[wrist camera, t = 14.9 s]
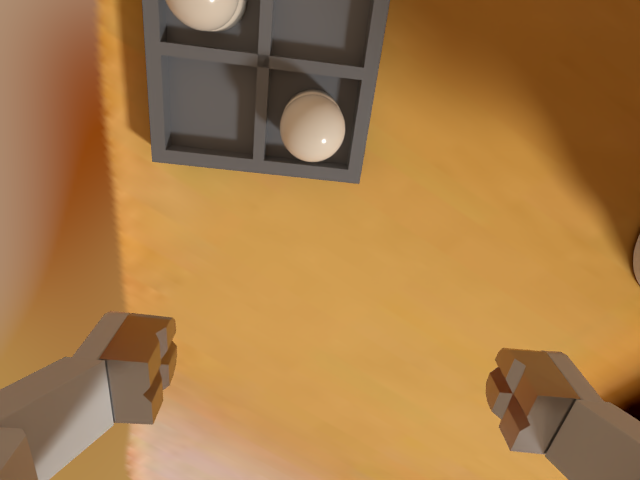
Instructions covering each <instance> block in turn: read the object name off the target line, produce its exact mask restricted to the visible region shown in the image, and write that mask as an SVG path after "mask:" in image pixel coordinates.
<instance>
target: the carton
mask: <svg viewBox="0 0 640 480" xmlns="http://www.w3.org/2000/svg"><path fill="white" fill-rule="evenodd" d="M389 3H390V0H248V2H247V8H246V11H245V14H244V16H243V17H242V19H241V20H240V22H239V23H238V24H237V25H235V26H234V27H233V28H231V29H229V30H226V31H221V32H214V31H200V30H196V29H193V28H191V27H189V26H187V25H185V24H184V23H182V22H181V21H180V20H179V19H177V17H176V16H175V15H174V14H173V13H172V11H171V10H170V9H169V7H168V5H167V3H166V1H165V0H142V8H143V24H144V40H145V55H146V71H147V87H148V103H149V118H150V134H151V150H152V162H160V163H169V164H178V165H188V166H197V167H207V168H216V169H225V170H235V171H244V172H254V173H263V174H272V175H282V176H291V177H301V178H310V179H319V180H329V181H338V182H348V183H357V184H359V182H360V176H361V170H362V164H363V158H364V152H365V146H366V140H367V134H368V128H369V122H370V116H371V110H372V104H373V98H374V92H375V87H376V81H377V75H378V69H379V63H380V57H381V51H382V45H383V39H384V33H385V27H386V21H387V15H388V9H389ZM306 89H319V90H322V91H324V92H326V93H328V94H329V95H331V96H332V97H333V98H334V100H335V101H336V102H337V104H338V106H339V108H340V110H341V112H342V114H343V117H344V121H345V136H344V139H343V142H342V144H341V146H340V147H339V149H338V150H337V151H336V152H335V153H334V154H333V155H332V156H331V157H329V158H327V159H325V160H323V161H319V162H307V161H303V160H300V159H298V158H296V157H295V156H293V155H292V154H291V153H290V152H289V151H288V150H287V148H286V147H285V145H284V144H283V141H282V139H281V135H280V121H281V117H282V114H283V112H284V109H285V106H286V104H287V103H288V101H289V100H290V99H291V97H292V96H294V95H295V94H296V93H298V92H300V91H302V90H306Z"/></svg>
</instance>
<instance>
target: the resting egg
mask: <svg viewBox="0 0 640 480" xmlns="http://www.w3.org/2000/svg"><path fill="white" fill-rule="evenodd" d="M165 1H166V3H167V5H168V7H169V9H170V10H171V11H172V13H173V14H174V15H175V16H176V17H177V19H179V20H180V21H181V22H182V23H184V24H185V25H187V26H189V27H191V28H193V29H196V30H200V31H214V32H221V31H226V30H229V29H231V28H233V27H234V26H235V25H237V24H238V23H239V22H240V20H241V19H242V17H243V16H244V14H245V11H246V8H247V2H248V0H165Z"/></svg>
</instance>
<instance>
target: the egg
mask: <svg viewBox="0 0 640 480" xmlns="http://www.w3.org/2000/svg"><path fill="white" fill-rule="evenodd" d="M280 135H281V139H282V141H283V144H284V145H285V147H286V148H287V150H288V151H289V152H290V153H291V154H292V155H293V156H295V157H296V158H298V159H300V160H303V161H307V162H319V161H323V160H325V159H327V158H329V157H331V156H332V155H333V154H334V153H335V152H336V151H337V150H338V149H339V147H340V146H341V144H342V142H343V139H344V136H345V121H344V117H343V114H342V112H341V110H340V108H339V106H338V104H337V102H336V101H335V100H334V98H333V97H332V96H331V95H329V94H328V93H326V92H324V91H322V90H319V89H306V90H302V91H300V92H298V93H296V94H295V95H294V96H292V97H291V99H290V100H289V101H288V103H287V104H286V106H285V109H284V112H283V114H282V117H281V121H280Z"/></svg>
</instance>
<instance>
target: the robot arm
mask: <svg viewBox="0 0 640 480" xmlns="http://www.w3.org/2000/svg"><path fill="white" fill-rule="evenodd" d="M633 268H634V273H635V276H636V279H637V281H638V283H639V284H640V234H639V237H638V239H637V242H636V245H635V249H634V255H633ZM175 333H176V323H175V320H174V318H171V317H162V316H154V315H145V314H136V313H125V312H115V311H110V312H107V313H106V314H104V316H103V317H102V318H101V320H100V321H99V322H98V324H97V325H96V326H95V328H94V329H93V330H92V332H91V333H90V334H89V335H88V337H87V338H86V339H85V341H84V342H83V344H82V345H81V346H80V347H79V349H78V350H77V351H76V353H75V354H74V355H73V357H71V358H70V357H64V358H62V359H60V360H58V361H56V362H54V363H52V364H50V365H48V366H46V367H44V368H42V369H40V370H38V371H36V372H34V373H32V374H30V375H28V376H27V377H24V378H22V379H21V380H18V381H17V382H15V383H13V384H11V385H9V386H7V387H5V388H3V389H1V390H0V480H49V479H50V478H51V477H52V476H54V475H55V474H56V473H57V472H58V471H60V470H61V469H62V468H63V467H64V466H66V465H67V464H68V463H69V462H70V461H71V460H73V459H74V458H75V457H76V456H77V455H79V454H80V453H81V452H82V451H83V450H85V449H86V448H87V447H88V446H89V445H90V444H92V443H93V442H94V441H95V440H96V439H98V438H99V437H100V436H101V435H102V434H104V432H106V431H107V430H108V429H109V428H111V427H112V426H113V425H114V423H133V424H153V423H154V421H155V419H156V416H157V414H158V412H159V409H160V407H161V404H162V402H163V390H164V389H165V388H166V387H168V386H169V385H170V383H171V380H172V378H173V375H174V370H175V366H176V359H177V346H176V345H175V343H174V342H173V341H172V340H173V337H174V335H175ZM495 361H496V363H497V365H498V367H497V368H496V369H495V370H493V371H492V372H491V373H490V374H489V376H488V379H487V382H486V397H487V402H488V404H489V407H490V409H491V411H492V412H493V413H494V414H496V415H497V416H498V417H499V418H500V419H501V422H500V425H499V428H500V430H501V432H502V434H503V436H504V438H505V440H506V443H507V445H508V447H509V449H510V451H517V452H527V453H536V454H546V455H545V457H546V458H547V459H548V460H549V461H550V462H551V463H552V464H553V465H554V466H555V467H556V468H557V469H558V470H559V471H560V472H561V473H562V474H563V475H564V476H565V477H566V478H567V479H569V480H640V421H638V420H637V419H635V418H634V417H632V416H631V415H629V414H627V413H626V412H624V411H623V410H621V409H620V408H618V407H616V406H615V405H613V404H612V403H610V402H604V401H603V400H602V399H601V398H600V396H599V395H598V394H597V393H596V391H595V390H594V389H593V387H592V386H591V385H590V384H589V382H588V381H587V380H586V379H585V377H584V376H583V375H582V374H581V372H580V371H579V370H578V369H577V367H576V366H575V365H574V364H573V362H572V361H571V360H570V359H569V357H568V356H567V355H565V354H564V353H562V352H555V351H534V350H522V349H510V348H502V349H501V350H500V351H499V352H498V354H497V357H496V359H495Z"/></svg>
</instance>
